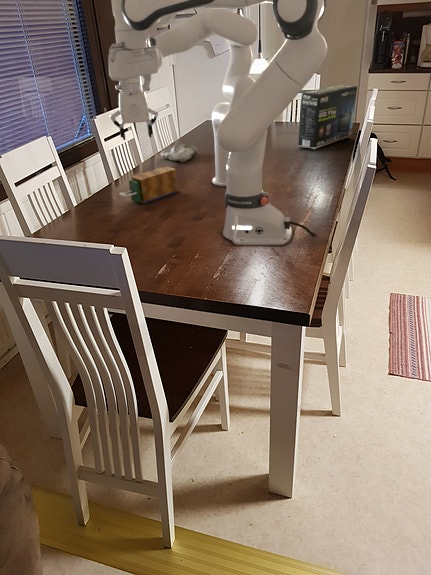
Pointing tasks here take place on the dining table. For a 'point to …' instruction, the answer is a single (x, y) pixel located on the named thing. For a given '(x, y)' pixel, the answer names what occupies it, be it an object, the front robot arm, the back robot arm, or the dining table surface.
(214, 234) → the dining table surface
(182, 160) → the fossil
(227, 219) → the front robot arm
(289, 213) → the dining table surface
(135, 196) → the drawer
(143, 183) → the cabinet
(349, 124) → the router box
